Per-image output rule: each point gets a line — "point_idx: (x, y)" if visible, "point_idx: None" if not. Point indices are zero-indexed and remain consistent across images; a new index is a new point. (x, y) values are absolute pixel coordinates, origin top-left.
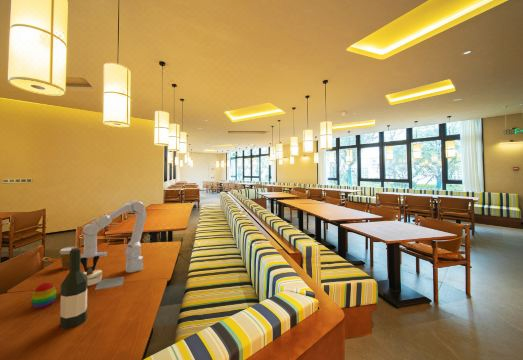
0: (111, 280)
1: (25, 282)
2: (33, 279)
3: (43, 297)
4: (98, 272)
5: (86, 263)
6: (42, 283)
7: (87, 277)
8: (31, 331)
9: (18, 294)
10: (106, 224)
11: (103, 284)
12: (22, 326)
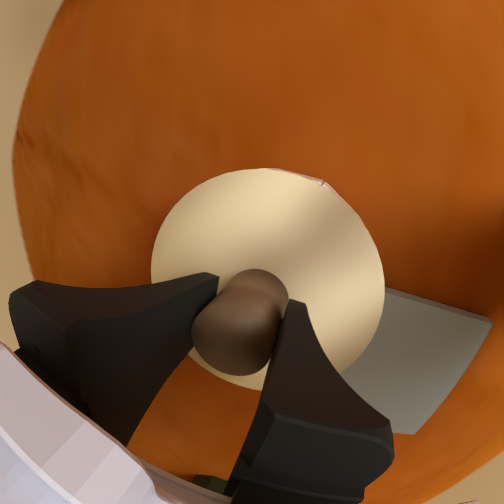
0: (411, 348)
1: (41, 47)
2: (58, 22)
3: None
4: (340, 324)
5: (151, 365)
6: None
7: (233, 380)
8: (144, 453)
9: (27, 173)
10: None
11: (348, 379)
12: None
